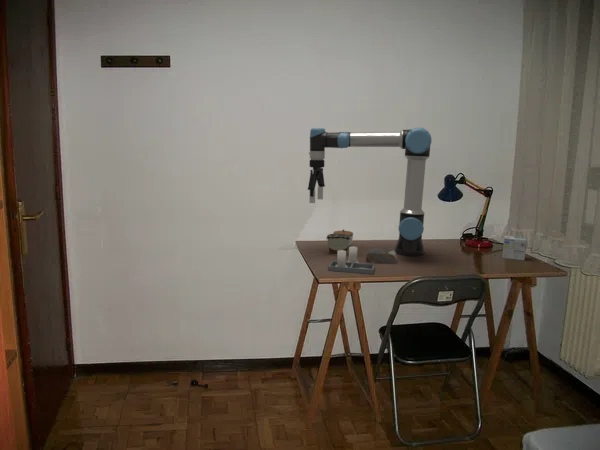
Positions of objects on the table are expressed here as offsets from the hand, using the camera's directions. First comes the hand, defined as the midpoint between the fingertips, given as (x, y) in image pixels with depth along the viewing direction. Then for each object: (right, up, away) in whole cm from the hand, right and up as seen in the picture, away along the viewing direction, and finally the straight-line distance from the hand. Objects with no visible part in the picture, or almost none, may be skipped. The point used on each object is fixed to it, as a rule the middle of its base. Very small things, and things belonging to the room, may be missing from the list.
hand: (316, 201), depth 259 cm
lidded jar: (+15, -24, +19) cm, 34 cm away
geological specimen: (+32, -30, -8) cm, 45 cm away
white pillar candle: (+17, -31, -15) cm, 38 cm away
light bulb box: (+101, -29, 0) cm, 105 cm away
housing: (+16, -33, -25) cm, 44 cm away
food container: (+11, -27, +4) cm, 30 cm away
